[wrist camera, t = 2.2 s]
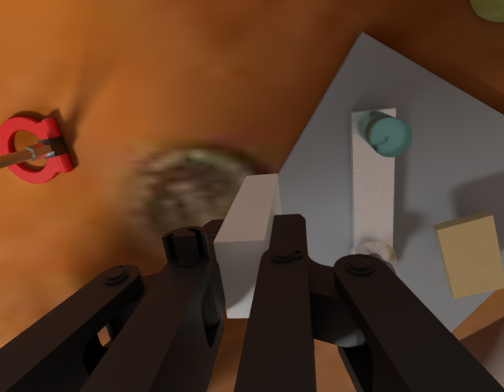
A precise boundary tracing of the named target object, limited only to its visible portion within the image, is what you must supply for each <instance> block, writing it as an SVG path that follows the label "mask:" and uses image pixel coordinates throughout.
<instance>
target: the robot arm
mask: <svg viewBox="0 0 504 392" xmlns="http://www.w3.org/2000/svg"><path fill="white" fill-rule="evenodd" d="M162 240H163V244H164V248H165V252H166V256H167V260H168V262H167V264H166V265H165V267H164V268H163V270H162V271H161V272H160V273H157V274H152V275H148V276H144V277H142V276H141V273H140V270H139V268H138V267H137V266H134V265H120V266H115V267H113V268H111V269H109V270H107V271H105V272H103V273H102V274H100V275H98V276H97V277H96V278H94V279H93V280H92V281H90V282H89V283H88V284H86V285H85V286H84V287H82V288H81V289H80V290H78V291H77V292H76V293H74V294H73V295H72V296H70V297H69V298H68V299H66V300H65V301H63V302H62V303H61V304H59V305H58V306H57V307H55V308H54V309H53V310H51V311H50V312H49V313H47V314H46V315H45V316H43V317H42V318H41V319H39V320H38V321H37V322H35V323H34V324H33V325H31V326H30V327H29V328H27V329H26V330H25V331H23V332H22V333H21V334H19V335H18V336H16V337H15V338H14V339H12V340H11V341H10V342H8V343H7V344H6V345H4V346H3V347H2V348H0V392H206V391H207V387H208V384H209V380H210V377H211V373H212V370H213V366H214V363H215V359H216V356H217V352H218V349H219V345H220V341H221V338H222V334H223V331H224V323H223V318H222V312H223V309H224V306H225V307H226V313H227V318H249V319H248V324H247V329H246V334H245V339H244V344H243V349H242V354H241V359H240V364H239V369H238V374H237V379H236V384H235V389H234V392H317V388H316V371H315V353H314V350H315V348H314V339H317V340H320V341H324V342H328V343H331V344H335V345H337V346H338V351H339V354H340V356H341V358H342V360H343V363H344V365H345V367H346V369H347V371H348V374H349V376H350V378H351V380H352V382H353V384H354V387H355V389H356V391H357V392H504V388H503V387H502V386H501V385H500V384H499V383H498V382H497V381H496V380H495V379H494V377H493V376H492V375H491V374H490V373H489V372H488V371H487V370H486V369H485V368H484V367H483V366H482V365H481V364H480V363H479V362H478V361H477V359H476V358H475V357H474V356H473V355H472V354H471V353H470V352H469V351H468V350H467V349H466V348H465V347H464V346H463V345H462V344H461V343H460V342H459V340H458V339H457V338H456V337H455V336H454V335H453V334H452V333H451V332H450V331H449V330H448V329H447V328H446V327H445V326H444V325H443V324H442V323H441V321H440V320H439V319H438V318H437V317H436V316H435V315H434V314H433V313H432V312H431V311H430V310H429V309H428V308H427V307H426V306H425V305H424V304H423V302H422V301H421V300H420V299H419V298H418V297H417V296H416V295H415V294H414V293H413V292H412V291H411V290H410V289H409V288H408V287H407V286H406V285H405V283H404V282H403V281H402V280H401V279H400V278H399V277H398V276H397V275H396V274H395V273H394V272H393V271H392V270H391V269H390V268H389V267H388V266H387V264H386V263H384V262H383V261H382V260H380V259H379V258H376V257H373V256H370V255H366V254H351V255H347V256H343V257H341V258H340V259H338V260H337V261H336V262H335V264H334V267H332V266H326V265H322V264H319V263H317V262H315V261H313V260H312V259H311V258H310V257H309V256H308V245H307V232H306V219H305V218H304V217H303V216H302V215H301V214H284V215H282V212H281V202H280V193H279V183H278V173H277V174H265V175H253V176H246V178H245V180H244V182H243V184H242V186H241V188H240V190H239V192H238V194H237V196H236V198H235V200H234V202H233V204H232V206H231V208H230V210H229V212H228V214H227V216H226V218H225V219H220V220H211V221H210V222H208V223H207V224H206V225H204V226H203V228H201V227H198V226H188V227H182V228H178V229H175V230H172V231H170V232H168V233H167V234H165V235H164V236H163V237H162ZM105 325H106V328H107V331H108V334H109V337H110V341H109V342H108V343H107V344H105V345H104V346H102V345H101V343H100V340H99V338H98V335H97V333H98V332H99V331H100V330H101V329H102V328H103V327H104V326H105Z"/></svg>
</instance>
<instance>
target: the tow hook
mask: <svg viewBox="0 0 504 392" xmlns="http://www.w3.org/2000/svg"><path fill="white" fill-rule="evenodd" d="M41 121H42V122H39V121H38V120H36V119H33V118H30V117H23V116H19V117H14V118H10V119H8V120H7V121H5V122H4V123H3V124H2V126H1V127H0V155H1V156H0V169H1V168H4V167H8V168H9V169H10V170H11V171H12V172H13V173H14V174H15V175H16V176H18V177H19V178H21V179H22V180H24V181H27V182H30V183H37V184H39V183H44V182H47V181H50V180H51V179H53V178H55V177H56V175H57V174H58V173H59V172H61V173H66V172H70V171H72V170H74V169H73V167H72V164H71V161H70V159H69V156H68V151H67V148H66V146H65V143H64V140H63V138H62V136H61V135H60V132H59V130H58V127H57V124H56V122H55V119H54V118H47V119H43V120H41ZM19 130H27V131H30V132H32V133H34V134H35V135H36V136H37V137H39V138H40V139H44V138H48V139H45V140H41V141H38V144H34V145H31V146H27V147H25V148H24V149H23V150H20V151H17V152H14V151H13V147H12V140H13V137H14V135H15V133H16V132H17V131H19ZM41 158H45V159H46V158H48V159H47V164H46V166H45V167H44V169H43V170H41V171H33V170H30V169H28V168H26V167H25V166H24V165H22V164H21V163H20V162H24V161H27V160H29V161H35V160H38V159H41Z"/></svg>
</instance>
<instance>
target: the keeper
mask: <svg viewBox="0 0 504 392" xmlns="http://www.w3.org/2000/svg"><path fill="white" fill-rule="evenodd" d="M432 226H433V230H434V234H435V238H436V242H437V246H438V250H439V253H440V257H441V261H442V265H443V269H444V273H445V277H446V281H447V285H448V289H449V292H450V294H451V295H452V296H453V298H454V299H456V298H461V297H465V296H470V295H474V294H479V293H483V292H488V291H493V290H497V289H502V288H504V270H503V265H502V260H501V255H500V249H499V244H498V239H497V234H496V228H495V223H494V218H493V215H492V214H491V213H489V212H488V211H486V210H485V211H482V212H478V213H474V214H471V215H467V216H463V217H460V218H456V219H453V220H449V221H445V222H442V223H438V224H434V225H432Z"/></svg>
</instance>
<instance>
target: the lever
mask: <svg viewBox="0 0 504 392" xmlns="http://www.w3.org/2000/svg"><path fill="white" fill-rule="evenodd" d="M349 114H350V157H351V199H352V241H353V243H352V245H351V246H350V248H349V253H348V255H351V254H366V255H370V256H373V257H376V258H379V259H380V260H382V261H383V262H384V263H386V264H387V266H388V267H389V268H390V269H391V270H392V271H393V272H394V273H395V274H396V272H395V269H394V268H395V267H396V264H397V255H396V253H395V251H394V249H393V212H394V169H395V157H396V156H399V155H401V154H402V153H404V152H405V151H406V150H407V149H408V148H409V146H410V144H411V142H412V131H411V128H410V127H409V125H408V124H407V123H405V122H404V121H402V120H400V119H397V118H396V108H394V107H383V108H375V109H366V110H357V111H349Z"/></svg>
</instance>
